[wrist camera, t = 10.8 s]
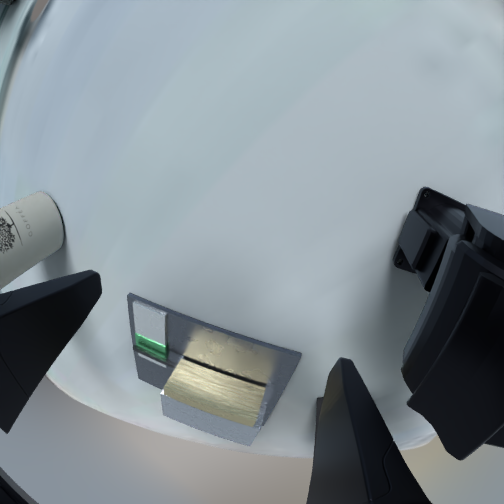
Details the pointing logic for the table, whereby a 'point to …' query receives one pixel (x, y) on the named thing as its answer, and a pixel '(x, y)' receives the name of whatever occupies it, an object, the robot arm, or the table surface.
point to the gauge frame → (207, 363)
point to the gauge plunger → (211, 390)
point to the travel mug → (28, 234)
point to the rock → (6, 2)
